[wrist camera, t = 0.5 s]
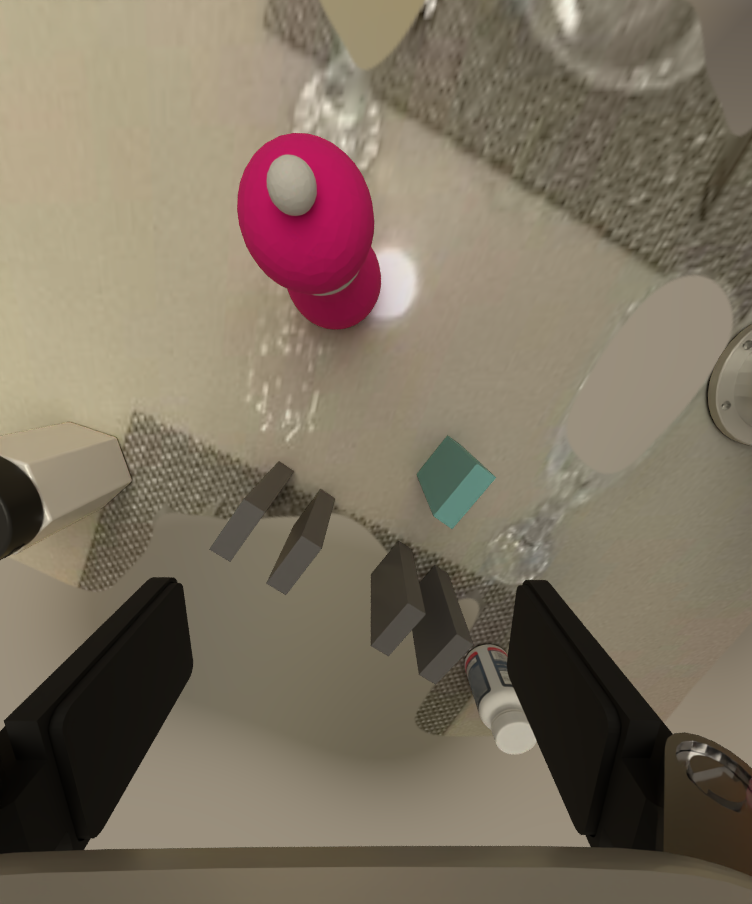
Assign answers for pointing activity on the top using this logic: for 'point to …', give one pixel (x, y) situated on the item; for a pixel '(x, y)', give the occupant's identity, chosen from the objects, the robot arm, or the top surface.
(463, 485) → the domino
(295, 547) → the domino
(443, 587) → the domino
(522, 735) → the pill bottle
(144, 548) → the top surface
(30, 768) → the robot arm
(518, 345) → the top surface
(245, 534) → the domino
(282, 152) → the pepper mill
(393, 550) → the domino
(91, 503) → the jar
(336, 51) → the top surface
